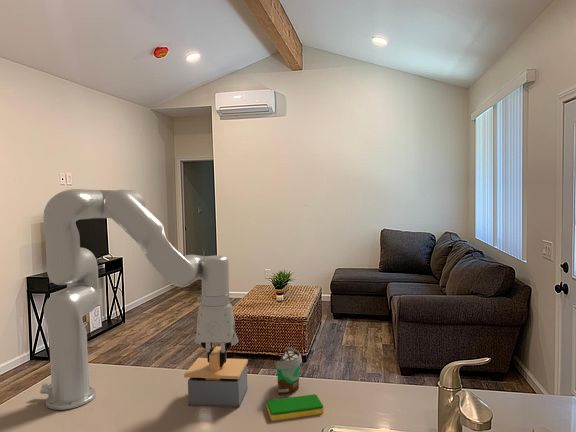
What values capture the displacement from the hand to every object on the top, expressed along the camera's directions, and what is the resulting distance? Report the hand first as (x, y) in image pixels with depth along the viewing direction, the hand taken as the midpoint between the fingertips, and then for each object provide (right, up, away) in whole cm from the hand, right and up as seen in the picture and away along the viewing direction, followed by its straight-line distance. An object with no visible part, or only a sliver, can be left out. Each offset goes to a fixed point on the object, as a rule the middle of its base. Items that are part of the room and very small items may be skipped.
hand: (217, 364), depth 121 cm
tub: (+1, -9, 0) cm, 9 cm away
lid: (0, -3, 0) cm, 3 cm away
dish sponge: (+22, -10, -8) cm, 25 cm away
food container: (+21, -9, +5) cm, 24 cm away
